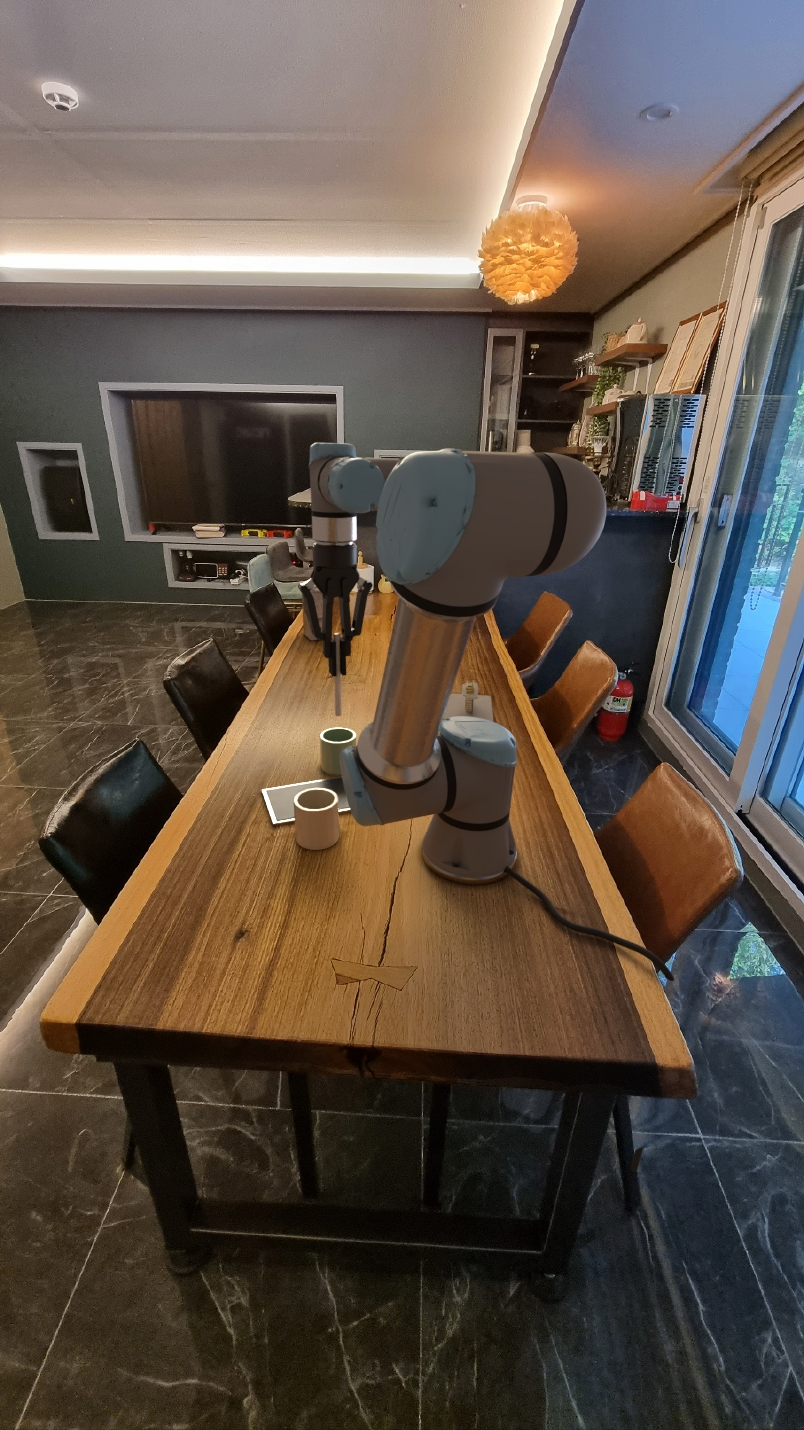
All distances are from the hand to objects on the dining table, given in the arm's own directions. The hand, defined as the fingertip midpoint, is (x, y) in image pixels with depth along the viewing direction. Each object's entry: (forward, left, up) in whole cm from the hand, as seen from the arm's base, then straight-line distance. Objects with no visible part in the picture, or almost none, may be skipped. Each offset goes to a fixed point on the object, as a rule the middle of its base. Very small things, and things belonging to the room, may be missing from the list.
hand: (337, 673), depth 113 cm
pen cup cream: (-18, +9, -22) cm, 30 cm away
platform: (+24, -41, -22) cm, 52 cm away
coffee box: (+96, -19, -22) cm, 100 cm away
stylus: (0, 0, -8) cm, 8 cm away
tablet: (-7, +7, -22) cm, 24 cm away
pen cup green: (+4, -1, -22) cm, 22 cm away
